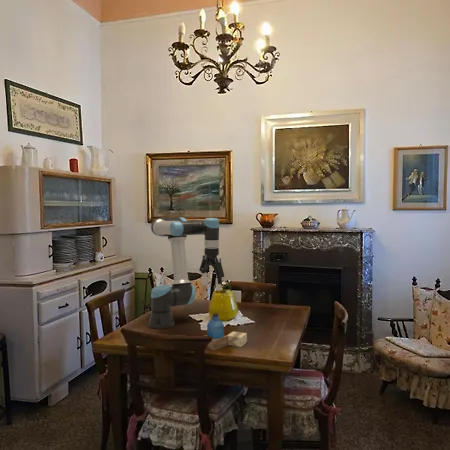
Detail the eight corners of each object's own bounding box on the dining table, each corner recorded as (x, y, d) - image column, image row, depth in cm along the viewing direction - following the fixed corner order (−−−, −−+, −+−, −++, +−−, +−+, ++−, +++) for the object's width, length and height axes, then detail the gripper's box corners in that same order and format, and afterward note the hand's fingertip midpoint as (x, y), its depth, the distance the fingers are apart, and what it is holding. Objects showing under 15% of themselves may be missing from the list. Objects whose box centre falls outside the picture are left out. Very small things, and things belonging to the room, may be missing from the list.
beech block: (226, 345, 222) (226, 335, 222) (233, 340, 230) (233, 331, 229) (240, 347, 219) (240, 337, 219) (246, 342, 226) (246, 333, 226)
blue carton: (213, 339, 216) (213, 316, 216) (207, 336, 222) (207, 313, 221) (224, 337, 220) (223, 314, 219) (217, 334, 225) (217, 311, 224)
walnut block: (200, 346, 221) (200, 336, 221) (214, 341, 228) (214, 332, 228) (214, 351, 214) (214, 341, 214) (228, 345, 222) (228, 336, 221)
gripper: (193, 245, 233) (193, 283, 235) (219, 251, 213) (218, 293, 215) (204, 244, 237) (204, 282, 239) (231, 250, 217) (230, 291, 219)
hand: (211, 287), depth 227 cm, fingers open, 13 cm apart
